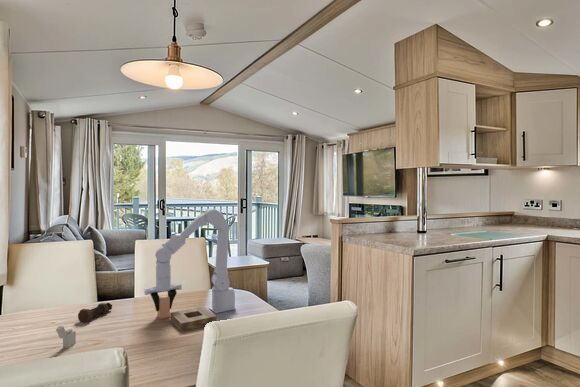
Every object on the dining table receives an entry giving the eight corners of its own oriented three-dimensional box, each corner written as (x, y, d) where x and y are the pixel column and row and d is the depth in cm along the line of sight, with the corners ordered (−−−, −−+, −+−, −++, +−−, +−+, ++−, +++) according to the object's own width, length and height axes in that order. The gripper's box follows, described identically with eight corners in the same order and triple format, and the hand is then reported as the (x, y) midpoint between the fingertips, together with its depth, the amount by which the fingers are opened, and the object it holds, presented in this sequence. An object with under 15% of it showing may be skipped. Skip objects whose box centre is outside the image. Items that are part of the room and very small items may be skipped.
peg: (167, 314, 156) (167, 295, 155) (169, 316, 152) (169, 297, 152) (157, 315, 153) (157, 296, 153) (159, 318, 150) (159, 299, 150)
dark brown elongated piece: (111, 314, 160) (84, 326, 145) (102, 308, 161) (75, 319, 146) (117, 303, 160) (91, 314, 145) (108, 297, 161) (81, 306, 146)
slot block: (203, 313, 156) (203, 306, 156) (216, 323, 145) (216, 316, 144) (170, 320, 148) (170, 312, 148) (181, 331, 137) (181, 323, 137)
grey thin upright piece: (71, 342, 127) (71, 319, 127) (76, 342, 127) (75, 319, 127) (56, 351, 120) (55, 327, 120) (60, 352, 120) (60, 327, 120)
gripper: (177, 272, 160) (178, 303, 160) (142, 276, 152) (142, 309, 152) (183, 275, 154) (183, 308, 154) (146, 280, 146) (146, 314, 146)
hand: (163, 309), depth 153 cm, fingers open, 4 cm apart
